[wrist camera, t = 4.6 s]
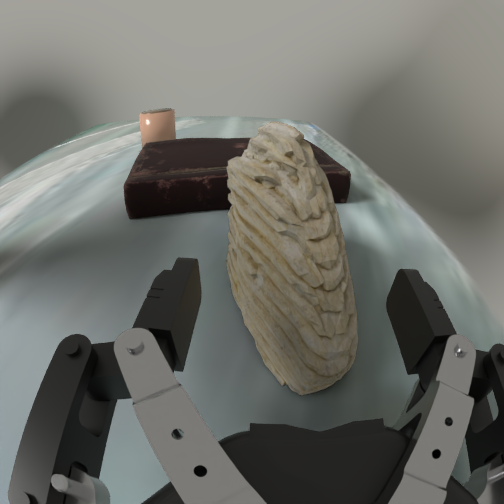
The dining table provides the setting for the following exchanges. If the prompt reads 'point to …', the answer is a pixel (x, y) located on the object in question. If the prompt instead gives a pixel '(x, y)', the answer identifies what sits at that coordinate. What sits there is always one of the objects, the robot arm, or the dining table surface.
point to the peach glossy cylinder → (157, 125)
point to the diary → (200, 176)
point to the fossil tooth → (290, 261)
